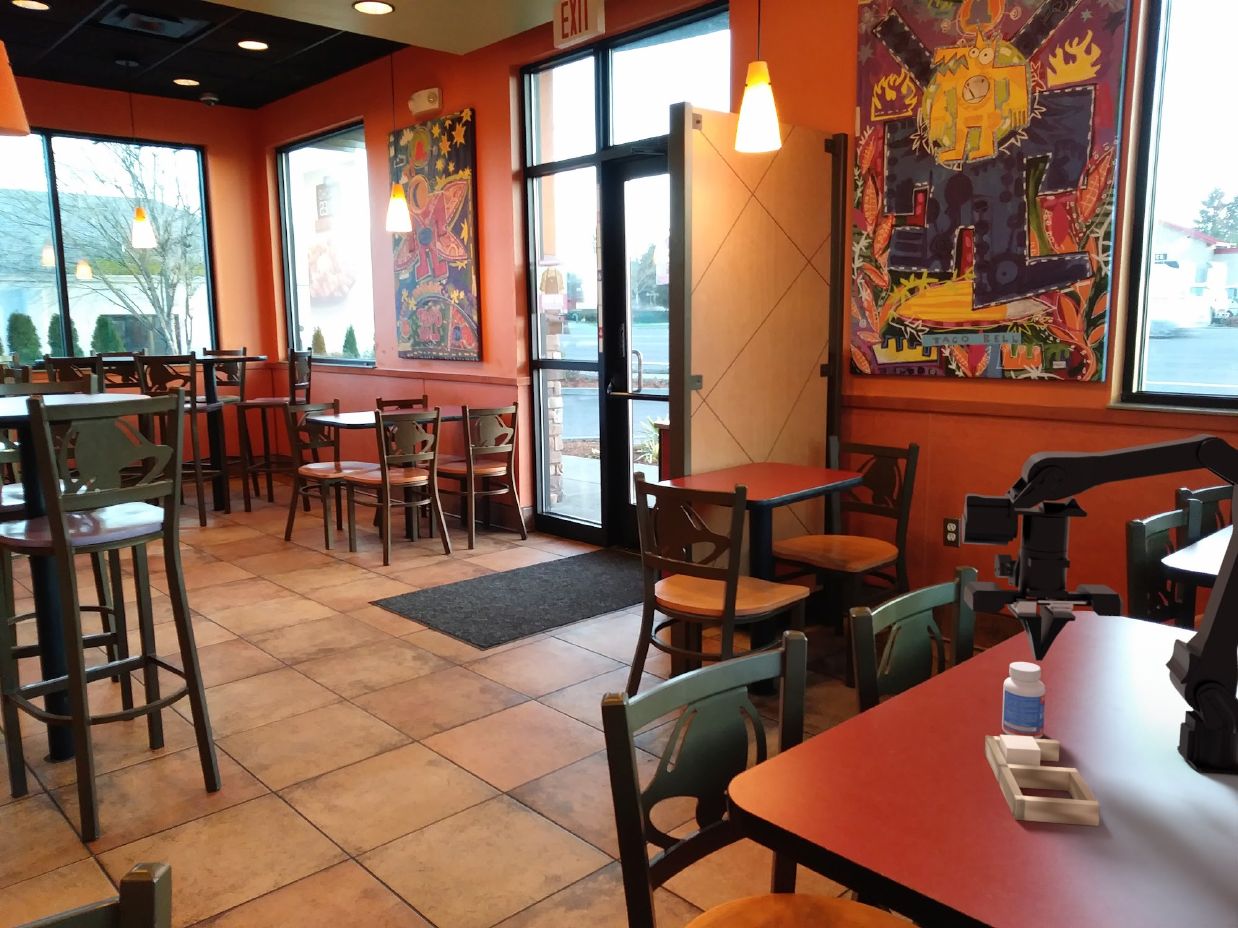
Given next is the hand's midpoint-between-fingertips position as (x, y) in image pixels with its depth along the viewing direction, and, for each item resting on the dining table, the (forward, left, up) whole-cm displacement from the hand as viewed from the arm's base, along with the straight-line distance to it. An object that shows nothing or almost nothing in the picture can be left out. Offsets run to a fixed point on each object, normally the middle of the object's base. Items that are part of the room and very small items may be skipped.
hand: (1037, 659), depth 121 cm
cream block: (+4, +8, -12) cm, 15 cm away
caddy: (+3, +12, -12) cm, 17 cm away
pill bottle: (+1, -4, -12) cm, 13 cm away
